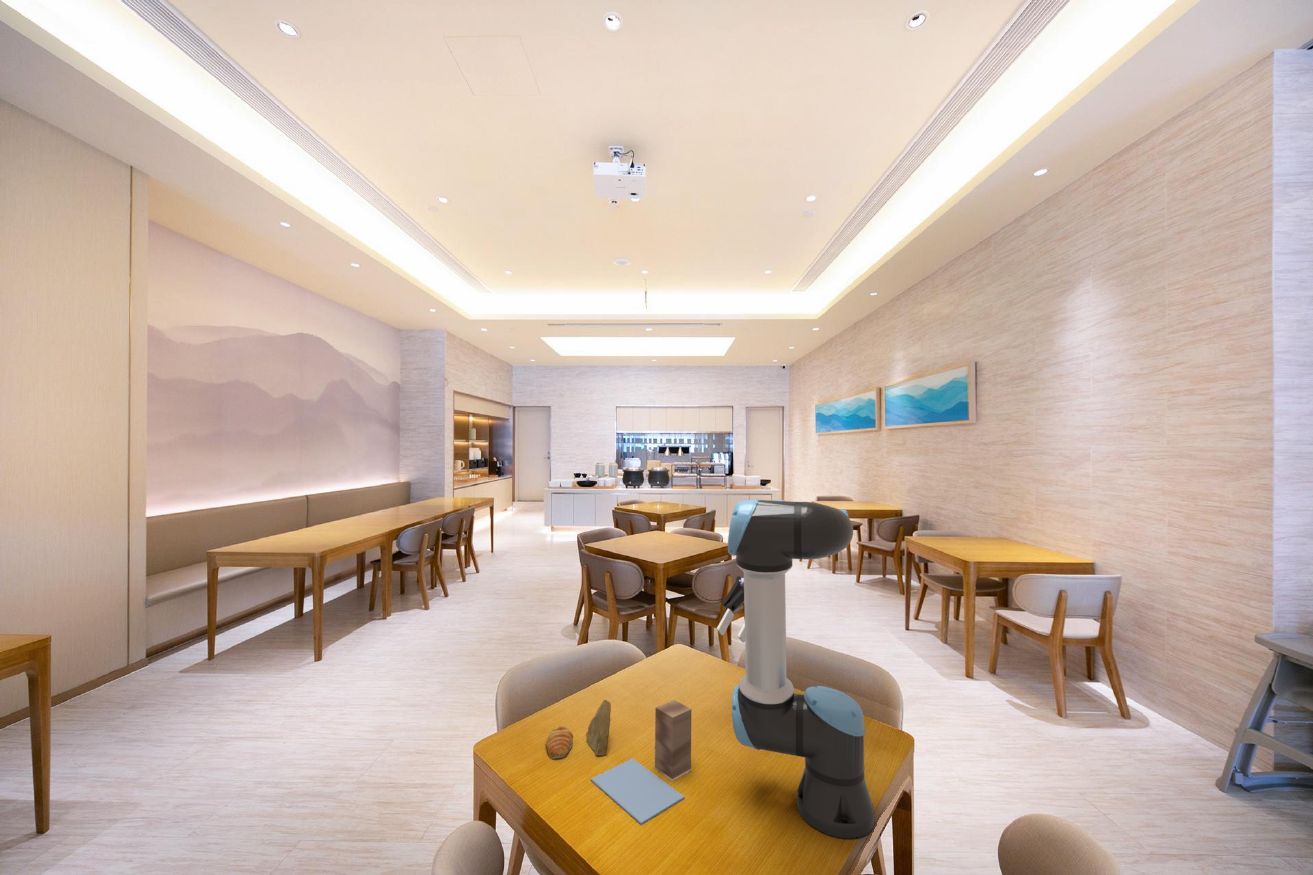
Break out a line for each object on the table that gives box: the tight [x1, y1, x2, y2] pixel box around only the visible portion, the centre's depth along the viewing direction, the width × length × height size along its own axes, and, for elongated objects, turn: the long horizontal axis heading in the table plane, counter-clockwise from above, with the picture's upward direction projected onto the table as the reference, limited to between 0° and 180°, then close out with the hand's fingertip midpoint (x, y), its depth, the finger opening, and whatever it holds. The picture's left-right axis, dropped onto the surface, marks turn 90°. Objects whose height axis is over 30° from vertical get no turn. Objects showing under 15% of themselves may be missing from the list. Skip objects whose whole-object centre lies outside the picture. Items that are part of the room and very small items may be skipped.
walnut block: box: [654, 699, 692, 782], centre depth 116 cm, size 6×6×14 cm
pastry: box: [545, 725, 574, 760], centre depth 124 cm, size 9×7×4 cm
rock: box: [585, 699, 612, 756], centre depth 126 cm, size 11×9×10 cm
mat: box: [590, 758, 685, 826], centre depth 109 cm, size 18×12×1 cm, turn 41°
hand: (730, 635), depth 131 cm, fingers open, 6 cm apart
